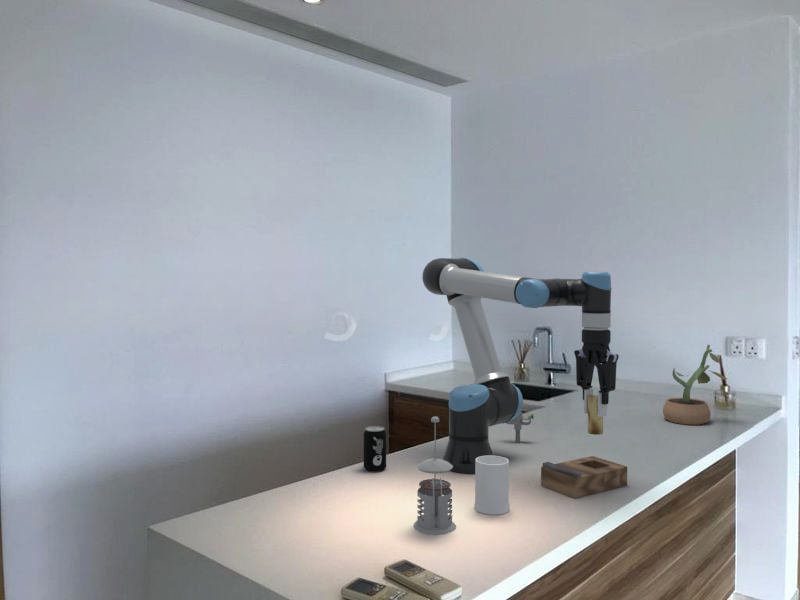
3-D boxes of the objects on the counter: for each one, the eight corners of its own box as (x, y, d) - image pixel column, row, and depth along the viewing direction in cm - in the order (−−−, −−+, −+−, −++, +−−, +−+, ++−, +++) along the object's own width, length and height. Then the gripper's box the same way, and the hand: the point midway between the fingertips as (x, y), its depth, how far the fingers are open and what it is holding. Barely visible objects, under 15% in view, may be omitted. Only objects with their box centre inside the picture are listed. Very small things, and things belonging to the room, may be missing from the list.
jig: (574, 498, 165) (574, 475, 165) (541, 485, 176) (541, 463, 175) (627, 484, 176) (627, 462, 176) (592, 473, 186) (592, 452, 186)
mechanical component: (533, 444, 218) (533, 414, 217) (502, 442, 220) (502, 413, 219) (533, 441, 221) (533, 412, 220) (502, 440, 223) (502, 411, 222)
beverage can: (366, 473, 186) (366, 431, 185) (361, 466, 192) (361, 426, 192) (388, 471, 188) (388, 430, 187) (383, 465, 194) (383, 425, 193)
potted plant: (659, 423, 247) (661, 345, 246) (665, 414, 263) (666, 340, 262) (726, 430, 237) (728, 348, 236) (727, 420, 253) (729, 343, 252)
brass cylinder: (596, 435, 175) (596, 398, 174) (584, 432, 178) (584, 396, 178) (606, 433, 177) (606, 396, 177) (594, 430, 180) (594, 394, 180)
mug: (492, 496, 167) (493, 450, 166) (522, 504, 161) (523, 456, 161) (467, 509, 158) (467, 460, 157) (497, 518, 152) (498, 467, 152)
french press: (453, 517, 152) (454, 411, 151) (460, 537, 141) (460, 423, 140) (411, 518, 152) (412, 411, 151) (414, 538, 140) (415, 423, 139)
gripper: (631, 330, 171) (630, 418, 172) (581, 326, 186) (580, 407, 187) (612, 331, 167) (611, 422, 168) (562, 327, 182) (562, 410, 183)
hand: (595, 414), depth 177 cm, fingers closed on brass cylinder, 4 cm apart
